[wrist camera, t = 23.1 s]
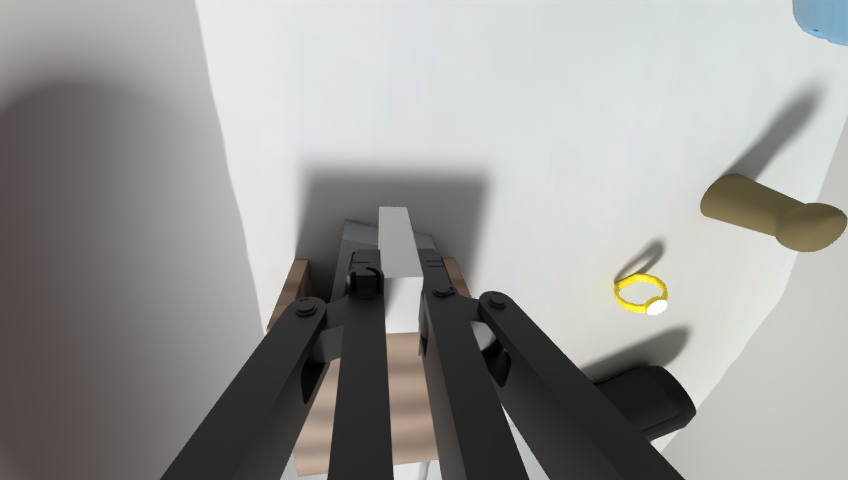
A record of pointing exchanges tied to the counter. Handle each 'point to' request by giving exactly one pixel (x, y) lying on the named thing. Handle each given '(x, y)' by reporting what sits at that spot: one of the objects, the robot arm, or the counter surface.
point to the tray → (362, 238)
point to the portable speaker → (650, 400)
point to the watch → (652, 305)
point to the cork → (773, 213)
